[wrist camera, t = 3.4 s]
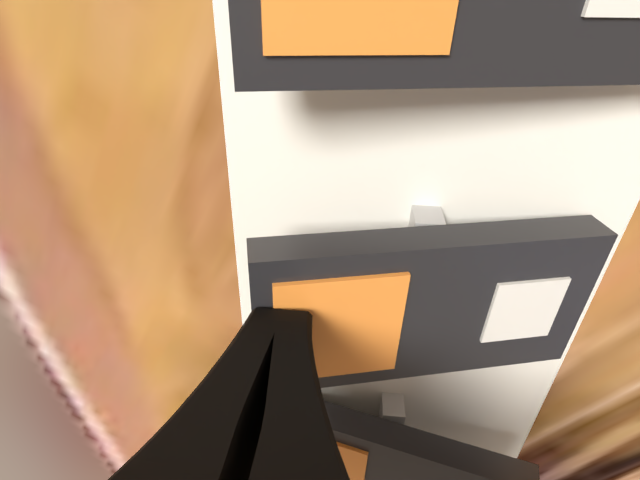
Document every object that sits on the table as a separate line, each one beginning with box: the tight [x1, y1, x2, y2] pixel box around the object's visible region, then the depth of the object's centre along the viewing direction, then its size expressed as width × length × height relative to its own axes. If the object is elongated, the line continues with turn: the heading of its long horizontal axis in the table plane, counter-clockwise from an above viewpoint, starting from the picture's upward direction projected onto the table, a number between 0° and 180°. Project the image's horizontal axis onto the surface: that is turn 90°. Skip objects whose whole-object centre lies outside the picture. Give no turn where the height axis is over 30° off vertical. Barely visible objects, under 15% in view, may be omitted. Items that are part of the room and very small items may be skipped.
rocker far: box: [324, 401, 540, 480], centre depth 16 cm, size 4×9×1 cm, turn 89°
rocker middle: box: [246, 215, 618, 388], centre depth 12 cm, size 4×9×1 cm, turn 89°
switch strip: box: [212, 0, 640, 458], centre depth 14 cm, size 25×11×2 cm, turn 179°
